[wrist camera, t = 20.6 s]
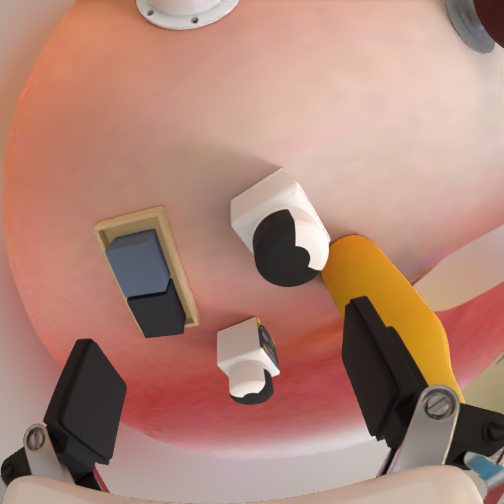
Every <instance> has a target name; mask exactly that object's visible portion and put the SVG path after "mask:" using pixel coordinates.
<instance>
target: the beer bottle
mask: <svg viewBox="0 0 504 504" xmlns="http://www.w3.org/2000/svg"><path fill="white" fill-rule="evenodd" d="M321 274H322V278H323V281H324V283H325V285H326V287H327V289H328V290H329V292H330V294H331V296H332V298H333V300H334V302H335V304H336V306H337V308H338V310H339V312H340V314H341V316H342V318H343V320H344V316H345V305H346V304H349V302H350V299H353V298H357V297H361V296H367V297H368V298H369V300H370V301H371V303H372V305H373V306H374V308H375V309H376V311H377V313H378V314H379V316H380V317H381V319H382V321H383V322H384V324H385V326H386V327H389V326H392V327H394V328H395V329H396V331H397V332H398V334H399V335H400V337H401V339H402V340H403V342H404V344H405V345H406V347H407V349H408V350H409V352H410V354H411V355H412V357H413V359H414V361H415V362H416V364H417V366H418V367H419V369H420V371H421V373H422V375H423V376H424V378H425V380H426V382H427V384H428V385H429V386H431V385H436V384H443V385H446V386H449V387H451V388H452V389H453V390H455V392H456V393H457V395H458V397H459V400H460V403H464V404H466V403H465V401H464V398H463V396H462V394H461V391H460V389H459V387H458V384H457V382H456V380H455V377H454V375H453V372H452V369H451V364H450V353H449V345H448V341H447V336H446V333H445V331H444V328H443V326H442V324H441V322H440V320H439V319H438V317H437V316H436V315H435V314H434V312H433V311H432V310H431V309H430V308H429V306H428V305H427V304H426V303H425V301H424V300H423V299H422V298H421V296H420V295H419V294H418V293H417V292H416V290H415V289H414V288H413V287H412V286H411V284H410V283H409V282H408V281H407V280H406V279H405V277H404V276H403V275H402V274H401V273H400V272H399V270H398V269H397V268H396V267H395V266H394V265H393V264H392V263H391V261H390V260H389V259H388V258H387V257H386V256H385V255H384V253H383V252H382V251H381V250H380V249H379V247H378V246H377V245H376V244H375V243H374V242H373V241H371V240H370V239H368V238H366V237H364V236H361V235H349V236H345V237H343V238H340V239H338V240H337V241H335V242H334V243H333V244H332V245H331V246H330V247H329V255H328V259H327V262H326V264H325V266H324V268H323V269H322V270H321Z"/></svg>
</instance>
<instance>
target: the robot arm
mask: <svg viewBox="0 0 504 504" xmlns="http://www.w3.org/2000/svg"><path fill="white" fill-rule="evenodd" d="M238 2H239V0H136V4H137V8H138V9H139V11H140V13H141V14H142V15H143V16H144V17H145V18H146V19H147V20H148V21H150V22H151V23H153V24H155V25H157V26H159V27H163V28H166V29H174V30H188V29H194V28H199V27H202V26H205V25H208V24H211V23H213V22H215V21H217V20H219V19H221V18H222V17H224V16H225V15H227V14H228V13H229V12H230V11H231V10H232V9H233V8H234V7H235V6H236V4H237V3H238ZM152 13H153V15H151V16H150V14H152ZM194 21H198V22H197V23H195V24H194V23H193V22H194ZM342 360H343V363H344V366H345V368H346V371H347V374H348V376H349V379H350V381H351V384H352V387H353V389H354V392H355V395H356V397H357V400H358V403H359V406H360V408H361V411H362V414H363V417H364V419H365V422H366V425H367V428H368V431H369V433H370V435H371V436H376V439H377V441H380V440H383V439H385V440H386V443H387V445H388V447H390V449H389V451H388V453H387V455H386V457H385V459H384V462H383V464H382V466H381V468H380V470H379V472H378V474H377V476H376V478H373V479H369V480H366V481H362V482H358V483H355V484H352V485H348V486H344V487H340V488H336V489H332V490H328V491H323V492H319V493H313V494H308V495H303V496H298V497H292V498H286V499H278V500H270V501H261V502H250V503H232V504H504V415H503V414H501V413H497V412H493V411H490V410H486V409H481V408H478V407H474V406H471V405H467V404H464V403H460V400H459V397H458V395H457V393H456V392H455V390H453V389H452V388H451V387H449V386H446V385H443V384H436V385H431V386H429V385H428V384H427V382H426V380H425V378H424V376H423V375H422V373H421V371H420V369H419V367H418V366H417V364H416V362H415V361H414V359H413V357H412V355H411V354H410V352H409V350H408V349H407V347H406V345H405V344H404V342H403V340H402V339H401V337H400V335H399V334H398V332H397V331H396V329H395V328H394V327H392V326H389V327H386V326H385V324H384V322H383V321H382V319H381V317H380V316H379V314H378V313H377V311H376V309H375V308H374V306H373V305H372V303H371V301H370V300H369V298H368V297H367V296H361V297H357V298H353V299H350V302H349V304H346V305H345V316H344V331H343V344H342ZM126 390H127V387H126V384H125V382H124V381H123V379H122V378H121V377H120V375H119V374H118V373H117V371H116V370H115V369H114V367H113V366H112V364H111V363H110V362H109V360H108V359H107V357H106V356H105V355H104V353H103V352H102V350H101V349H100V347H99V346H98V344H97V343H96V342H94V341H93V340H92V339H78V340H77V341H76V343H75V345H74V347H73V349H72V351H71V353H70V356H69V358H68V360H67V362H66V365H65V367H64V369H63V371H62V374H61V376H60V378H59V381H58V383H57V386H56V388H55V391H54V393H53V396H52V398H51V401H50V403H49V406H48V409H47V411H46V414H45V417H44V420H43V422H44V423H45V424H47V426H46V427H45V426H43V425H42V424H34V425H31V426H30V427H29V428H28V429H27V431H26V432H25V435H24V439H23V442H24V447H23V448H21V449H20V450H18V451H17V452H15V453H14V454H12V455H11V456H9V457H8V458H7V459H5V460H4V462H3V464H2V466H1V475H0V504H189V503H174V502H162V501H153V500H145V499H137V498H131V497H126V496H120V495H115V494H110V492H109V490H108V489H107V487H106V485H105V484H104V482H103V481H102V478H101V477H100V475H99V473H98V471H97V469H96V468H95V462H97V463H99V464H105V465H108V464H109V460H110V459H111V458H112V456H113V451H114V446H115V440H116V435H117V430H118V426H119V421H120V416H121V412H122V408H123V403H124V399H125V395H126ZM463 470H473V471H475V472H476V473H478V474H479V476H478V477H480V478H481V479H482V480H484V481H485V483H486V484H487V488H488V489H487V495H486V497H485V499H484V501H482V499H481V497H480V494H479V492H478V490H477V488H476V486H475V484H474V483H473V481H472V480H471V478H470V477H469V476H468V474H467V473H466V472H465V471H463ZM190 504H191V503H190Z"/></svg>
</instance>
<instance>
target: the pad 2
mask: <svg viewBox="0 0 504 504" xmlns="http://www.w3.org/2000/svg"><path fill="white" fill-rule="evenodd" d="M127 303H128V305H129V307H130V309H131V311H132V313H133V315H134V317H135V319H136V321H137V323H138V325H139V326H140V328H141V330H142V332H143V334H144V336H145V338H151V337H160V336H169V335H178V334H183V333H184V327H185V320H186V314H185V311H184V309H183V306H182V304H181V301H180V298H179V296H178V293H177V291H176V288H175V285H174V282H173V280H172V278H169V281H168V285H167V288H166V291H163V292H156V293H150V294H144V295H137V296H130V297H128V299H127Z"/></svg>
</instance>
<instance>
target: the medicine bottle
mask: <svg viewBox="0 0 504 504" xmlns="http://www.w3.org/2000/svg"><path fill="white" fill-rule="evenodd" d="M217 365H218V366H219V367H220V369H221V370H222V371H223V372H224V373H225V374H226V375H227V376H228V377H229V389H230V397H231V398H232V399H233V400H234V401H236V402H238V403H240V404H245V405H254V404H259V403H262V402H265V401H267V400H268V399H269V398H270V397H271V396H272V395H273V392H274V389H273V383H272V377H273V376H276V375H279V374H280V370H279V364H278V359H277V354H276V349H275V343H274V341H273V340H272V338H271V337H270V335H269V334H268V332H267V331H266V329H265V328H264V326H263V325H262V323H261V322H260V320H259V319H258V317H253V318H251V319H248V320H246V321H243V322H241V323H238V324H236V325H233V326H231V327H228V328H226V329H223V330H221V331H218V333H217Z"/></svg>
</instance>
